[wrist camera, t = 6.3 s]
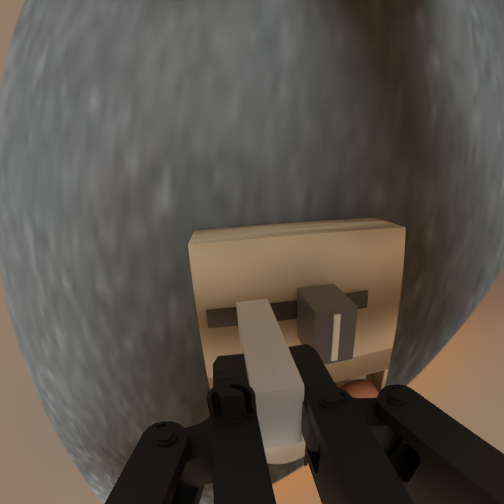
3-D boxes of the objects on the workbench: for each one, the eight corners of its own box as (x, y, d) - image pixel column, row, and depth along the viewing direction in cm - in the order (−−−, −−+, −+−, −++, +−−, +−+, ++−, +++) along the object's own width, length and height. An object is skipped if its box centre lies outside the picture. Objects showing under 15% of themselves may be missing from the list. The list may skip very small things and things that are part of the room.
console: (193, 230, 18) (187, 245, 14) (373, 217, 19) (407, 227, 15) (221, 420, 22) (224, 457, 18) (356, 398, 23) (374, 428, 19)
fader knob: (296, 288, 15) (315, 314, 12) (333, 283, 15) (358, 307, 12) (296, 335, 16) (313, 368, 13) (331, 330, 16) (353, 359, 13)
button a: (330, 385, 18) (347, 416, 15) (377, 374, 18) (399, 401, 15) (326, 421, 19) (340, 451, 16) (370, 409, 19) (387, 436, 16)
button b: (247, 399, 17) (253, 434, 14) (302, 391, 18) (316, 424, 14) (251, 433, 18) (256, 467, 15) (301, 426, 18) (312, 458, 15)
